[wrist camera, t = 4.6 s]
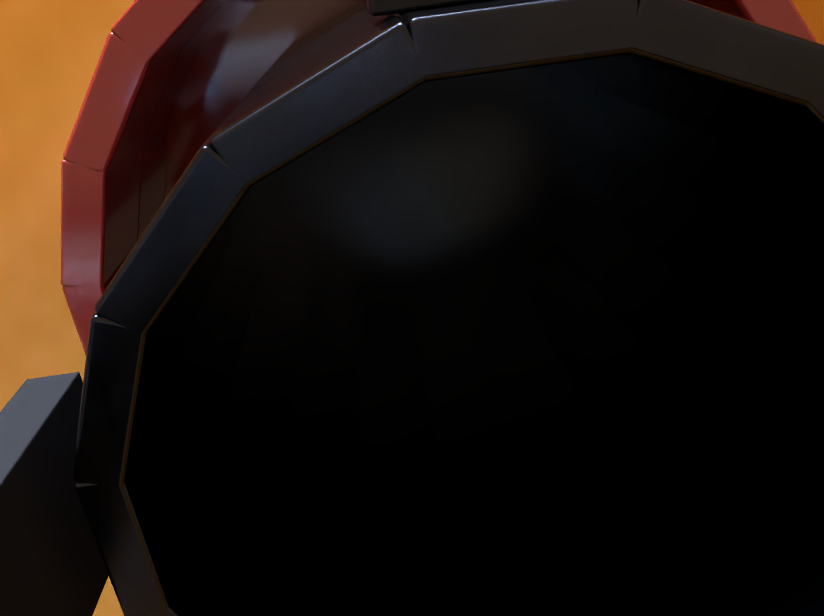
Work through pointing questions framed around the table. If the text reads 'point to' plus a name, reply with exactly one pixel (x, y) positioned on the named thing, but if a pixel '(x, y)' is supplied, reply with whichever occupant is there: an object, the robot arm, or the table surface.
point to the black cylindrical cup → (478, 327)
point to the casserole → (191, 114)
